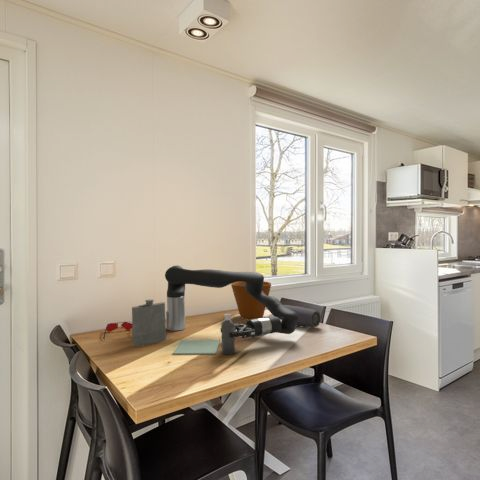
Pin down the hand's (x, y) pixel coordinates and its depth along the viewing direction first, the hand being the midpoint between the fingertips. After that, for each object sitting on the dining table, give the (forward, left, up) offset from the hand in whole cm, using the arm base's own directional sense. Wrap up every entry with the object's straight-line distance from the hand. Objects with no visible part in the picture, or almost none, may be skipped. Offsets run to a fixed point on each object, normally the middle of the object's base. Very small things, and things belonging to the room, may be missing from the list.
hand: (225, 332), depth 143 cm
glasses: (-56, +29, -9) cm, 63 cm away
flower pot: (+11, +64, -9) cm, 65 cm away
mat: (-13, +8, -9) cm, 17 cm away
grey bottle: (+1, +1, -9) cm, 9 cm away
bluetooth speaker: (+36, +43, -9) cm, 57 cm away
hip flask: (-36, +15, -9) cm, 40 cm away
